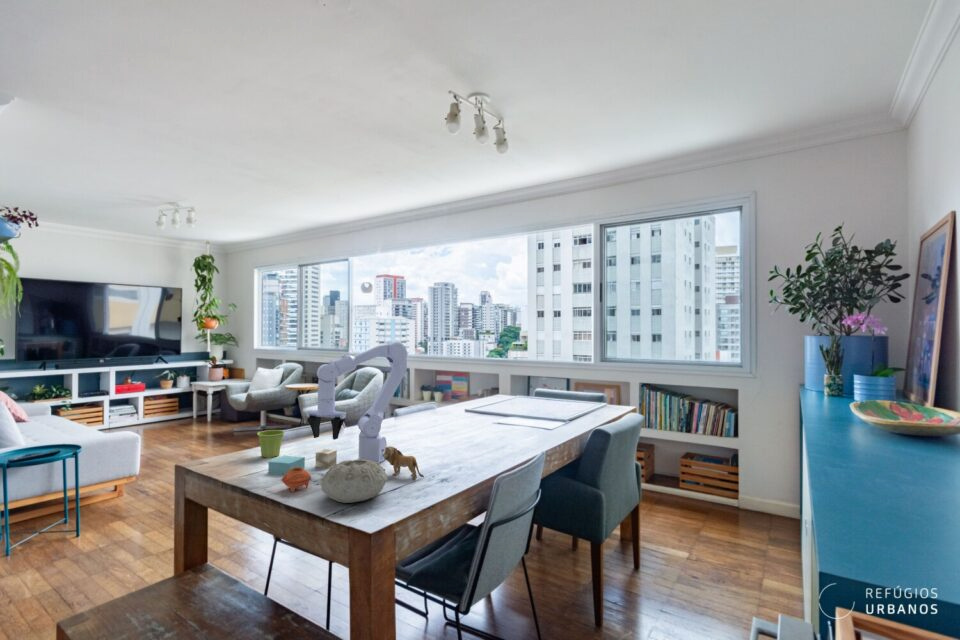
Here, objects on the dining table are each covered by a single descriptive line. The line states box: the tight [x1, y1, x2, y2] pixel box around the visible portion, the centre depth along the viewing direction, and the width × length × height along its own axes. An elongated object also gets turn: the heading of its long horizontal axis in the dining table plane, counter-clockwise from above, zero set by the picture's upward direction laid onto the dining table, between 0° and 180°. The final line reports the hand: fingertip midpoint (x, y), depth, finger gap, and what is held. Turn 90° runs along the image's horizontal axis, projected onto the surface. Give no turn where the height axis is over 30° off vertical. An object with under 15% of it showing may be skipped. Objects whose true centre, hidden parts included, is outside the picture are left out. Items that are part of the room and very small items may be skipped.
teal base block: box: [267, 455, 306, 476], centre depth 159 cm, size 8×8×4 cm
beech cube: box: [314, 448, 338, 469], centre depth 165 cm, size 5×5×5 cm
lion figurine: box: [383, 446, 425, 480], centre depth 154 cm, size 15×5×9 cm, turn 69°
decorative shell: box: [320, 459, 388, 504], centre depth 134 cm, size 18×18×10 cm
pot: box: [281, 467, 312, 493], centre depth 141 cm, size 8×8×7 cm
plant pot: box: [257, 429, 286, 459], centre depth 177 cm, size 9×9×9 cm
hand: (325, 438), depth 165 cm, fingers open, 7 cm apart
